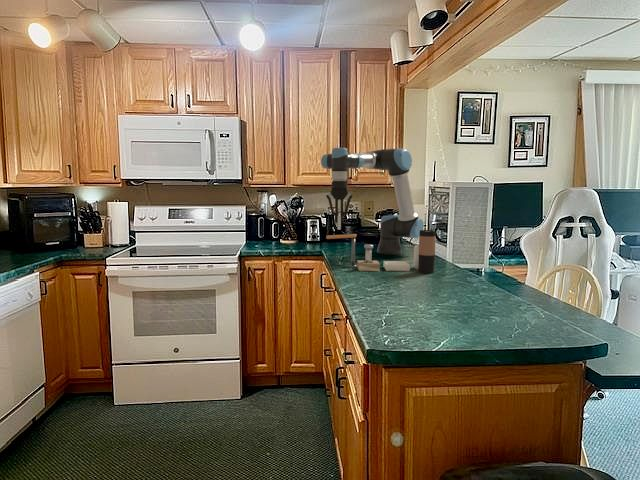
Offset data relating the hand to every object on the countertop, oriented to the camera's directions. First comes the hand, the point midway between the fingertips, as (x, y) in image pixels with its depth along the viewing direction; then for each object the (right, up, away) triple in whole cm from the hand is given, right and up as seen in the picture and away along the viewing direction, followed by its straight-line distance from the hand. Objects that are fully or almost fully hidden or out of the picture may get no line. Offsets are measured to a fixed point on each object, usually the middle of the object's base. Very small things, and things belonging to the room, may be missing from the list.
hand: (339, 229), depth 231 cm
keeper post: (+7, -19, +10) cm, 22 cm away
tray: (+29, -20, +4) cm, 35 cm away
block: (+15, -20, +3) cm, 24 cm away
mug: (+43, -20, +8) cm, 48 cm away
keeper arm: (+1, -4, +4) cm, 6 cm away
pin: (+15, -20, +3) cm, 24 cm away
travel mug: (+42, -21, -4) cm, 47 cm away
